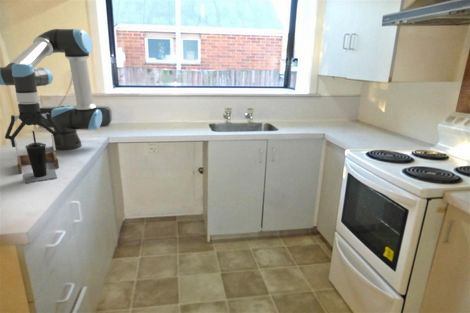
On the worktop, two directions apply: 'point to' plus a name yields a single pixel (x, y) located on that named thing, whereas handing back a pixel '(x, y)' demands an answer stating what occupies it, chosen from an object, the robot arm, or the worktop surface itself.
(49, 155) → the open wooden frame
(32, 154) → the drinking cup
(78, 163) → the worktop surface
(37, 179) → the mat
